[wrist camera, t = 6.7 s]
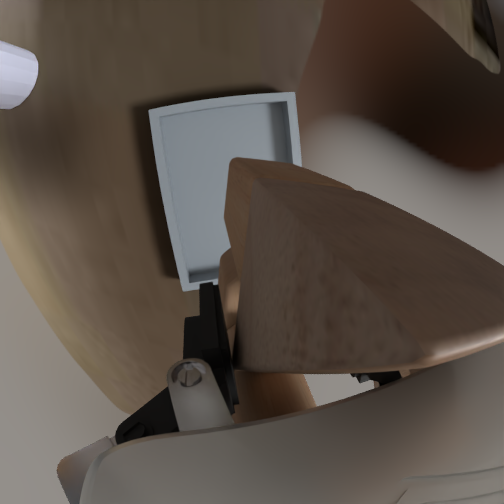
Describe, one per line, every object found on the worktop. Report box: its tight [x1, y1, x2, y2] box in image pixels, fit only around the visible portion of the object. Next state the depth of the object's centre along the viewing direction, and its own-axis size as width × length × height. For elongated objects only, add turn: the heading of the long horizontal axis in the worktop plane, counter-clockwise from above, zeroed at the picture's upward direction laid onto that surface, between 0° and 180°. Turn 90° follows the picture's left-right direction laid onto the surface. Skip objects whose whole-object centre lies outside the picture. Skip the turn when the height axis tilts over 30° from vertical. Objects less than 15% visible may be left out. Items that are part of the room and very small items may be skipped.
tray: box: [149, 92, 302, 291], centre depth 34 cm, size 22×16×3 cm
